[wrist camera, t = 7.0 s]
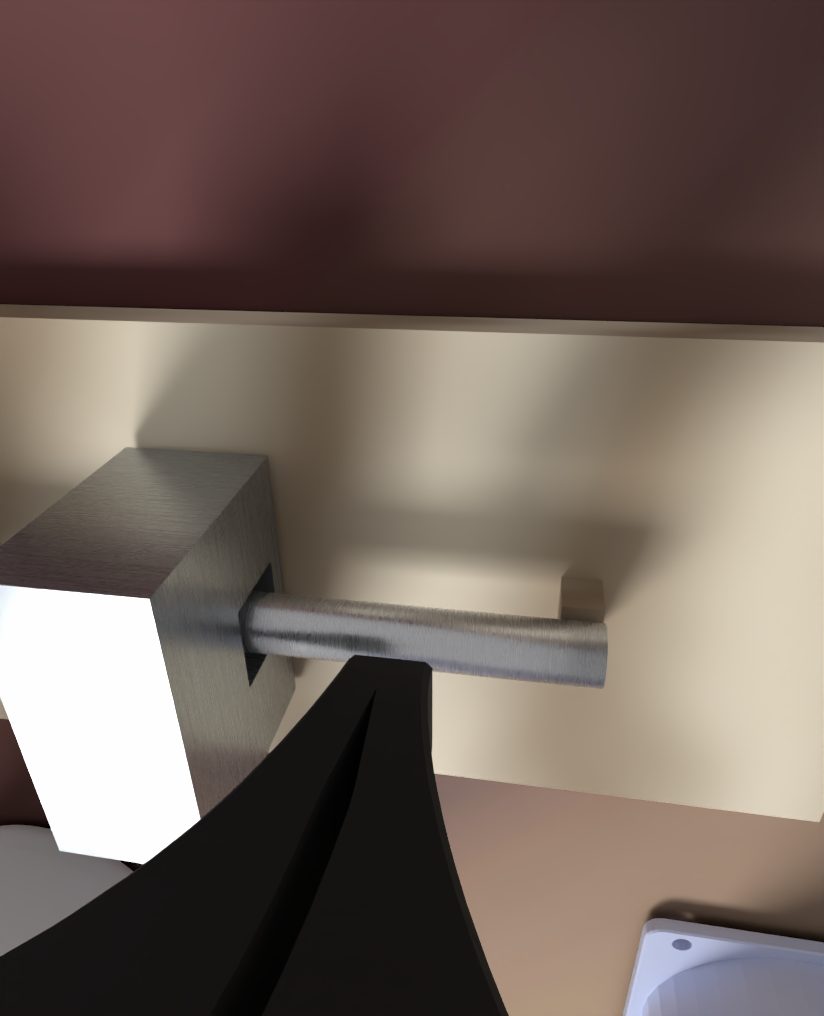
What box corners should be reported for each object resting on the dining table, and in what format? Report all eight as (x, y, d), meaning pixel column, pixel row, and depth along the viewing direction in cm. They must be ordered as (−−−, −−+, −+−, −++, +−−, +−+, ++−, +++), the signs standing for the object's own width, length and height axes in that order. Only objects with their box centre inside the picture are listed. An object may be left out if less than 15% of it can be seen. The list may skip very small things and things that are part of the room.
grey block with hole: (268, 455, 14) (149, 599, 10) (296, 688, 17) (212, 874, 13) (125, 447, 15) (-44, 580, 10) (177, 675, 17) (59, 850, 13)
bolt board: (969, 331, 12) (1283, 496, 7) (806, 787, 17) (914, 1075, 12) (-206, 298, 16) (-583, 391, 10) (-45, 684, 21) (-241, 874, 16)
